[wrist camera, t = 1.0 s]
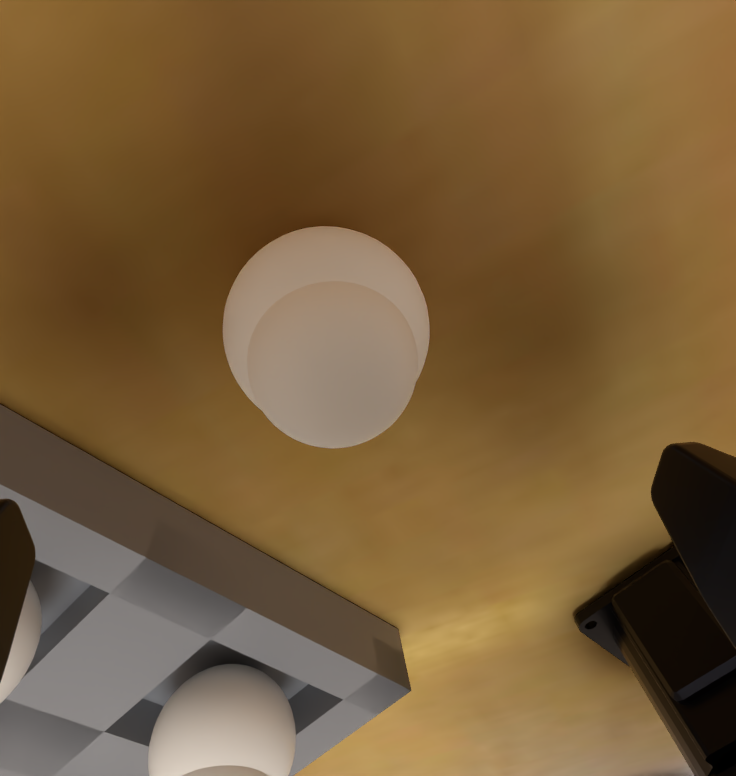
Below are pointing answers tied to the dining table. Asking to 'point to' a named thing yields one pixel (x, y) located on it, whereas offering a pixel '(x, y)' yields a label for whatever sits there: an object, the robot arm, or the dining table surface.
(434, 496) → the dining table surface
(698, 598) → the robot arm
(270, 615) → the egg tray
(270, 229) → the dining table surface
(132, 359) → the dining table surface
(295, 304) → the cream game piece
